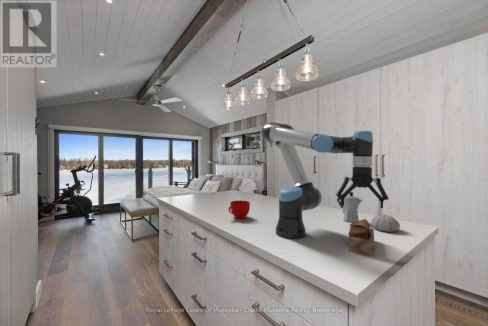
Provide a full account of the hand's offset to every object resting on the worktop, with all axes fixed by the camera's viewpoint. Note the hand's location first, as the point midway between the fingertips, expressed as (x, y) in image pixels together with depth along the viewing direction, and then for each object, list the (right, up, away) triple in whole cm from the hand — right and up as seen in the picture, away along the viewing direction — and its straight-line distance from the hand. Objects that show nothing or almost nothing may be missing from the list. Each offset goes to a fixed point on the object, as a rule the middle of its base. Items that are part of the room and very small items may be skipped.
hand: (360, 214), depth 93 cm
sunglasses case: (0, -8, +1) cm, 8 cm away
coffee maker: (+14, -14, +38) cm, 43 cm away
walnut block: (0, -14, 0) cm, 14 cm away
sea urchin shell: (+25, -14, +22) cm, 36 cm away
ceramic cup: (-56, -13, +43) cm, 72 cm away
